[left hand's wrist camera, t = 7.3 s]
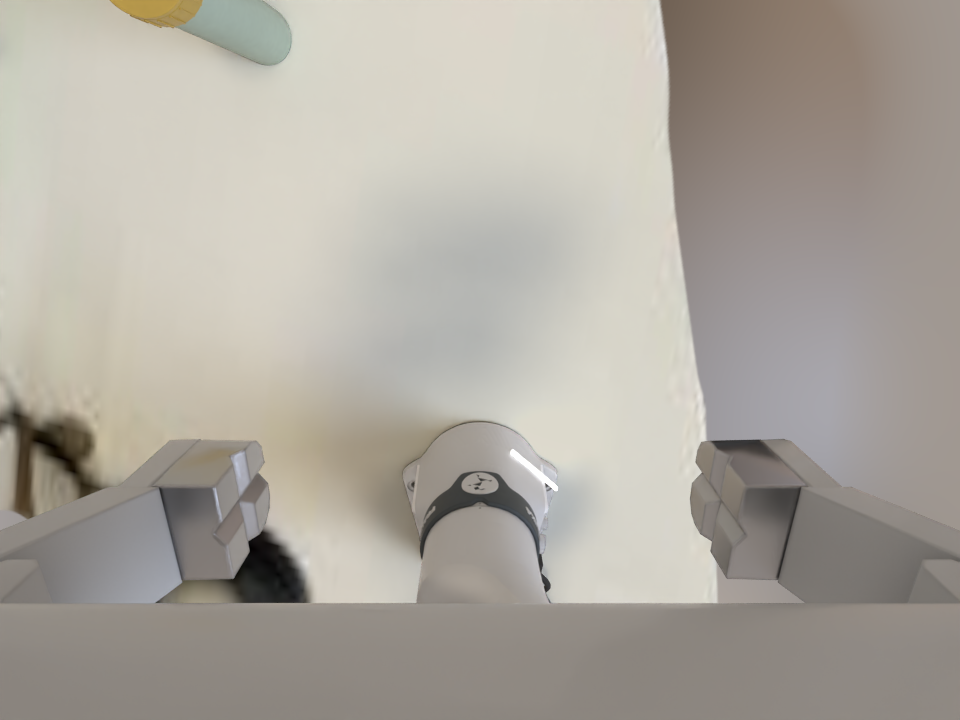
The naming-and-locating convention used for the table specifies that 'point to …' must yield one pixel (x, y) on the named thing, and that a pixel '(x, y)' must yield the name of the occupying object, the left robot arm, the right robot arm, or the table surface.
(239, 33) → the pale green cylinder
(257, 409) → the table surface
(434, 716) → the left robot arm
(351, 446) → the table surface
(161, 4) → the lid
